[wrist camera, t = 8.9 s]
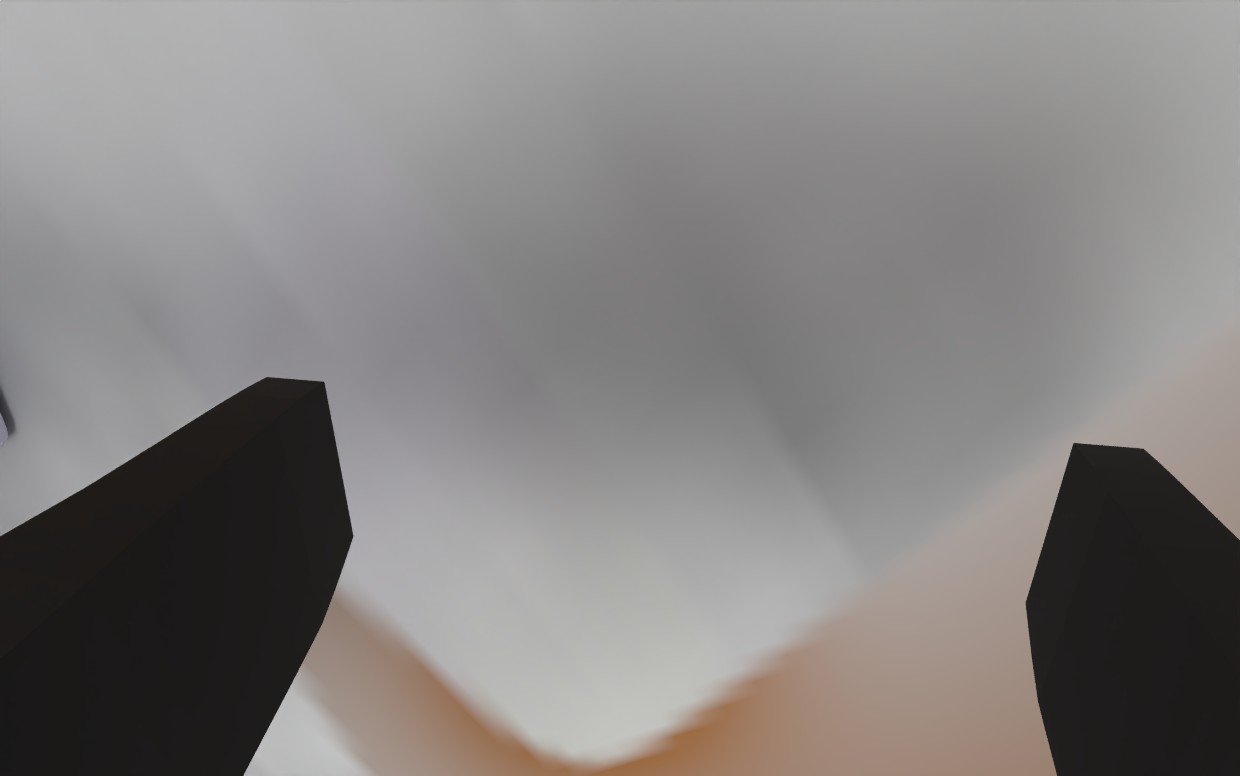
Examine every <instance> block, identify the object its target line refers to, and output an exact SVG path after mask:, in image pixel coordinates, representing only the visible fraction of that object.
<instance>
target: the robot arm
mask: <svg viewBox="0 0 1240 776" xmlns="http://www.w3.org/2000/svg"><path fill="white" fill-rule="evenodd" d="M7 438H8V432H7V428H6V425H5V423H4V420H3V418H2V415H1V413H0V446H1V445H3V444H4V443H5V442H6V440H7ZM352 539H353V532H352V526H351V521H350V516H349V510H348V505H347V500H346V494H345V489H344V484H343V479H342V473H341V468H340V463H339V457H338V452H337V447H336V441H335V436H334V431H333V425H332V420H331V415H330V410H329V404H328V399H327V394H326V388H325V383H324V382H320V381H308V380H295V379H283V378H271V377H266V378H264V379H262V380H260V381H259V382H257V383H255V384H253V385H251V386H249V387H247V388H246V389H244V390H242V391H240V392H239V393H237V394H235V395H234V396H232V397H230V398H229V399H227V400H225V401H224V402H222V403H220V404H219V405H217V406H215V407H214V408H212V409H211V410H209V411H207V412H206V413H204V414H203V415H201V416H199V417H198V418H196V419H195V420H193V421H191V422H190V423H188V424H187V425H185V426H184V427H182V428H180V429H179V430H177V431H176V432H174V433H172V434H171V435H169V436H168V437H166V438H165V439H163V440H161V441H160V442H158V443H157V444H155V445H153V446H152V447H150V448H148V449H147V450H145V451H144V452H142V453H140V454H139V455H137V456H136V457H134V458H132V459H131V460H129V461H128V462H126V463H124V464H123V465H121V466H120V467H118V468H116V469H115V470H113V471H112V472H110V473H108V474H107V475H105V476H103V477H102V478H100V479H99V480H97V481H95V482H94V483H92V484H91V485H89V486H87V487H86V488H84V489H82V490H80V491H79V492H77V493H75V494H73V495H72V496H70V497H68V498H67V499H65V500H63V501H61V502H60V503H58V504H56V505H54V506H53V507H51V508H49V509H47V510H46V511H44V512H42V513H40V514H39V515H37V516H35V517H33V518H32V519H30V520H28V521H26V522H25V523H23V524H21V525H19V526H18V527H16V528H14V529H12V530H11V531H9V532H7V533H5V534H4V535H2V536H0V776H243V775H244V773H245V771H246V769H247V768H248V766H249V764H250V762H251V760H252V758H253V756H254V754H255V752H256V750H257V748H258V747H259V745H260V743H261V741H262V739H263V737H264V735H265V733H266V731H267V729H268V728H269V726H270V724H271V722H272V720H273V718H274V716H275V714H276V712H277V711H278V709H279V707H280V705H281V703H282V701H283V699H284V697H285V695H286V693H287V692H288V690H289V688H290V686H291V684H292V682H293V680H294V678H295V676H296V674H297V672H298V670H299V668H300V666H301V664H302V662H303V660H304V659H305V657H306V655H307V653H308V651H309V649H310V647H311V645H312V643H313V641H314V639H315V637H316V635H317V633H318V631H319V629H320V627H321V625H322V623H323V620H324V618H325V615H326V612H327V610H328V607H329V604H330V602H331V599H332V596H333V594H334V591H335V588H336V586H337V583H338V580H339V577H340V574H341V571H342V568H343V565H344V563H345V560H346V557H347V554H348V551H349V548H350V545H351V542H352ZM1026 611H1027V619H1028V628H1029V636H1030V645H1031V654H1032V662H1033V669H1034V676H1035V683H1036V690H1037V697H1038V703H1039V707H1040V711H1041V715H1042V718H1043V723H1044V727H1045V731H1046V735H1047V738H1048V742H1049V746H1050V750H1051V753H1052V757H1053V761H1054V765H1055V768H1056V773H1057V776H1240V540H1239V539H1238V538H1237V537H1236V536H1235V535H1234V534H1233V533H1232V532H1231V531H1230V530H1229V529H1228V528H1226V527H1225V526H1224V525H1223V524H1222V523H1221V522H1220V521H1219V520H1218V519H1217V518H1216V517H1215V516H1214V515H1213V514H1212V513H1211V512H1210V511H1209V510H1208V509H1207V508H1206V507H1205V506H1204V505H1203V504H1202V503H1201V502H1200V501H1199V500H1198V499H1197V498H1196V497H1195V496H1193V495H1192V494H1191V493H1190V492H1189V491H1188V490H1187V489H1186V488H1185V487H1184V486H1183V485H1182V484H1181V483H1180V482H1179V481H1178V480H1177V479H1176V478H1175V477H1174V476H1173V475H1172V474H1170V472H1169V471H1167V470H1166V469H1165V468H1164V467H1163V466H1162V465H1161V464H1160V463H1159V462H1158V461H1157V460H1155V459H1154V458H1153V457H1152V456H1151V455H1150V454H1149V453H1148V452H1146V451H1145V450H1144V449H1140V448H1128V447H1116V446H1103V445H1091V444H1079V443H1073V447H1072V450H1071V453H1070V457H1069V460H1068V463H1067V467H1066V470H1065V473H1064V477H1063V480H1062V484H1061V487H1060V490H1059V493H1058V497H1057V500H1056V504H1055V507H1054V510H1053V513H1052V517H1051V520H1050V523H1049V527H1048V530H1047V533H1046V537H1045V540H1044V544H1043V547H1042V550H1041V554H1040V557H1039V560H1038V564H1037V567H1036V570H1035V574H1034V577H1033V580H1032V584H1031V587H1030V590H1029V594H1028V597H1027V600H1026Z"/></svg>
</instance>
